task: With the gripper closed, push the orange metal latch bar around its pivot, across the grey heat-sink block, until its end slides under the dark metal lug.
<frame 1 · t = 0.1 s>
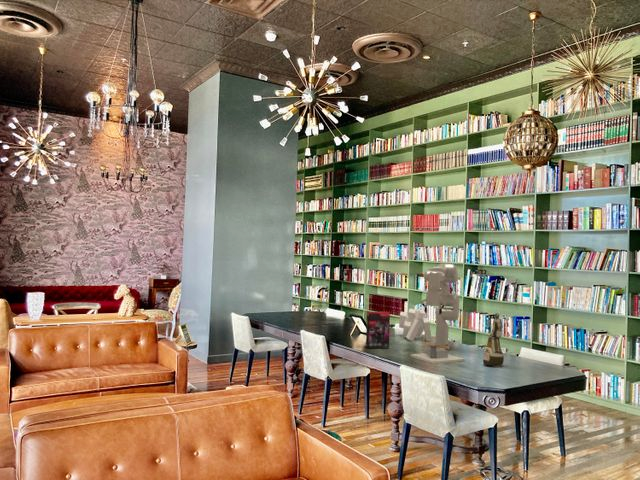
hand: (432, 313, 350), 31 cm above the table, tool pointing down, fingers open, 9 cm apart
pile of blocks: (413, 339, 430), on the table
statue: (493, 365, 336), on the table
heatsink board: (437, 358, 350), on the table
latch bar: (436, 345, 356), point 8 cm above the table, hinge at -50.0°
graphics card box: (377, 348, 381), on the table
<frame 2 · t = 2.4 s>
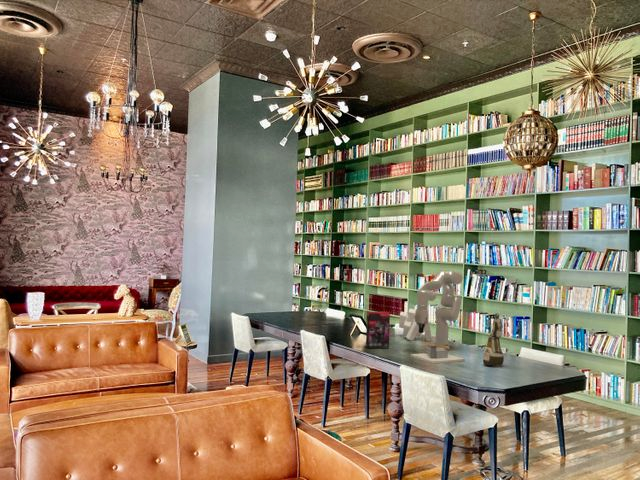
hand: (421, 332, 366), 15 cm above the table, tool pointing down, fingers closed
nothing on the table moved.
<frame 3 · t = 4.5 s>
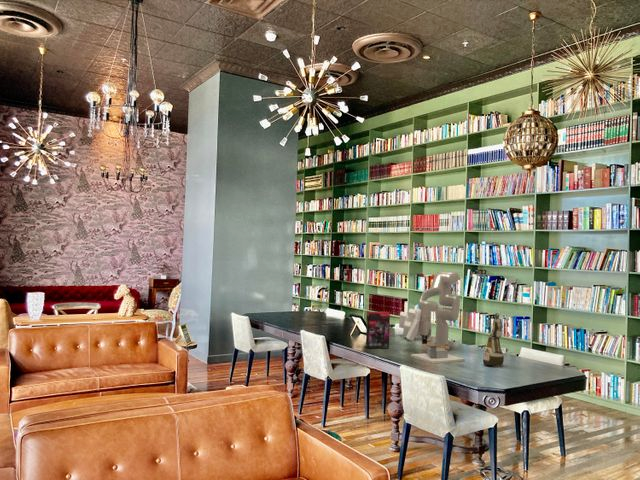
hand: (424, 344, 362), 7 cm above the table, tool pointing down, fingers closed
latch bar: (436, 345, 356), point 8 cm above the table, hinge at -48.4°, touching gripper
everything else where it was.
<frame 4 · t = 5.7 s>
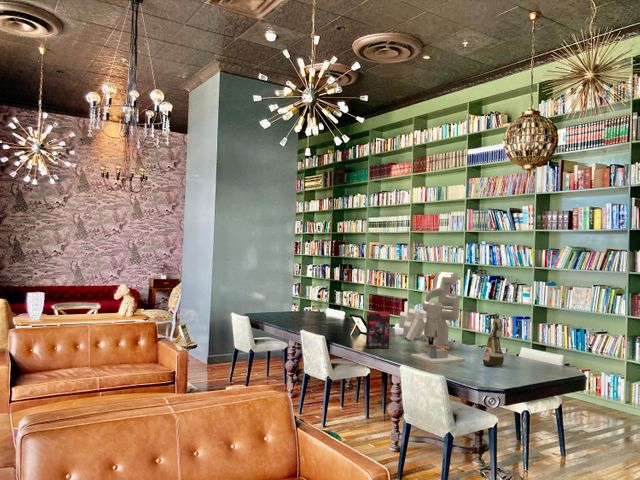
hand: (430, 346, 356), 7 cm above the table, tool pointing down, fingers closed
latch bar: (436, 345, 353), point 8 cm above the table, hinge at -25.3°, touching gripper
everything else where it was.
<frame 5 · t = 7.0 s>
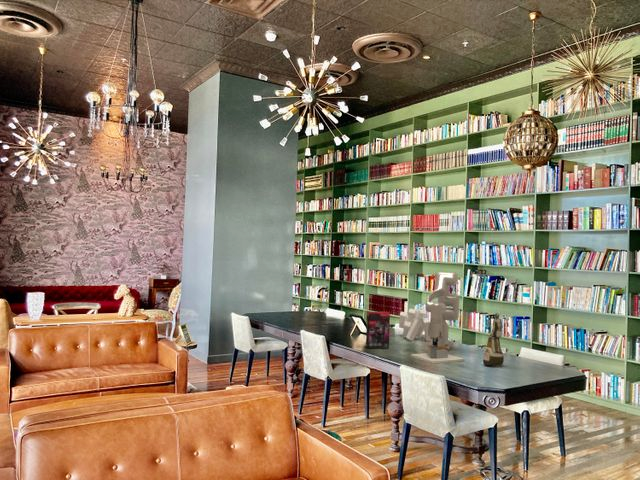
hand: (434, 347, 352), 7 cm above the table, tool pointing down, fingers closed
latch bar: (438, 346, 350), point 8 cm above the table, hinge at 2.7°, touching gripper, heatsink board
everything else where it was.
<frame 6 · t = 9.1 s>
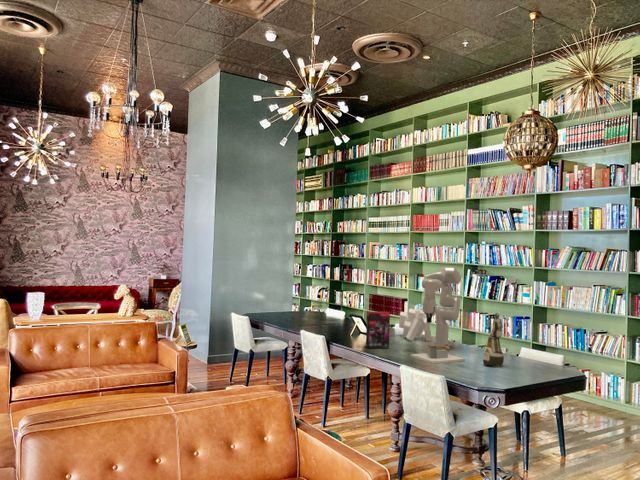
hand: (429, 322, 361), 23 cm above the table, tool pointing down, fingers closed
latch bar: (438, 346, 350), point 8 cm above the table, hinge at 2.7°
everything else where it was.
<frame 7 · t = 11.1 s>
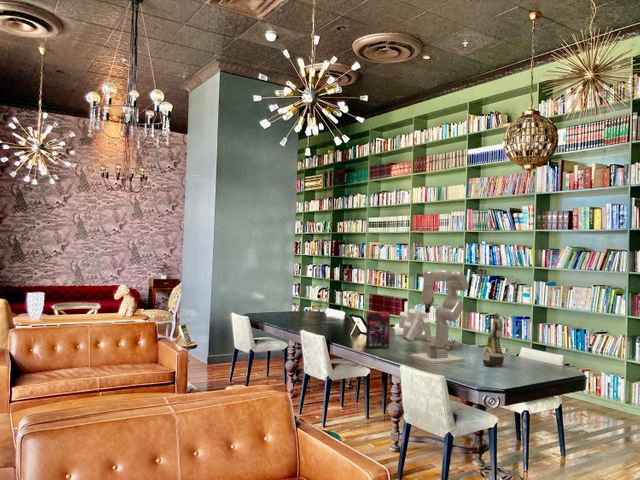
hand: (427, 312, 374), 29 cm above the table, tool pointing down, fingers closed
nothing on the table moved.
at the end: latch bar at +3° (first picture: -50°) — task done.
